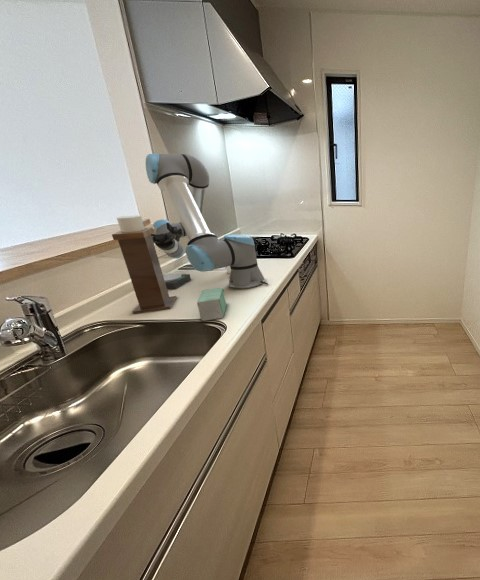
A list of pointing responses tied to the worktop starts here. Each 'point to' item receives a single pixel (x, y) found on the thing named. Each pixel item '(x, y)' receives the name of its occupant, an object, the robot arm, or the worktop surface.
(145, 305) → the shelf stand
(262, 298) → the worktop surface
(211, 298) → the box
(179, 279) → the kitchen scale
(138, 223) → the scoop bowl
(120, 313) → the worktop surface
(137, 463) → the worktop surface
